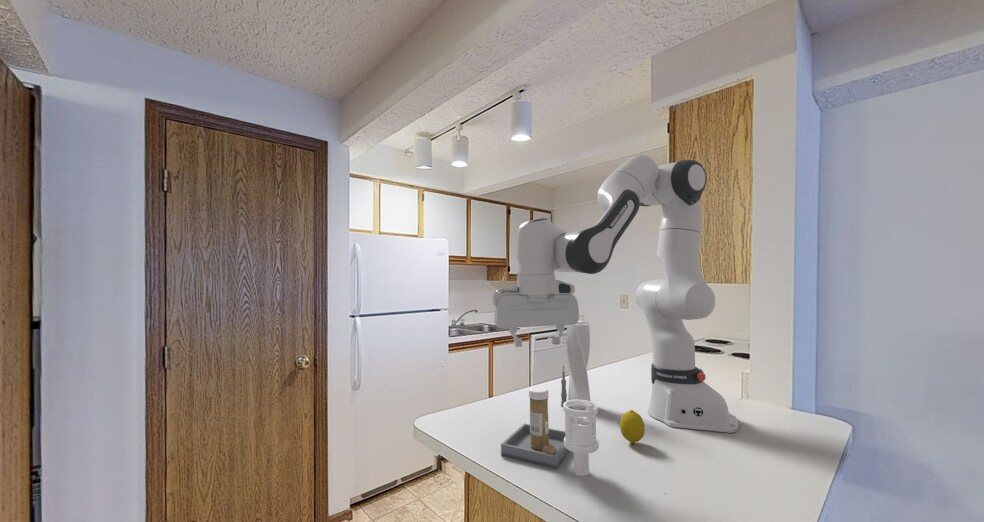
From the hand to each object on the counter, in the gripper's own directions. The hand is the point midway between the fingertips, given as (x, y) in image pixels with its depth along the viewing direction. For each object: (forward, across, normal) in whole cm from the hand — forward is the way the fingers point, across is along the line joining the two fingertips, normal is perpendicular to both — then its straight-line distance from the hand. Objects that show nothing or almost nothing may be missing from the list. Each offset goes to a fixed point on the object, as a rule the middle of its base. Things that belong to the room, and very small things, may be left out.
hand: (537, 345), depth 90 cm
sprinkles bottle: (+24, 0, 0) cm, 24 cm away
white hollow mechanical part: (+25, +5, -12) cm, 28 cm away
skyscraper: (+25, +21, +25) cm, 41 cm away
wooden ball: (+22, 0, -6) cm, 23 cm away
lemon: (+25, +23, -2) cm, 34 cm away
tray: (+24, 0, 0) cm, 24 cm away
